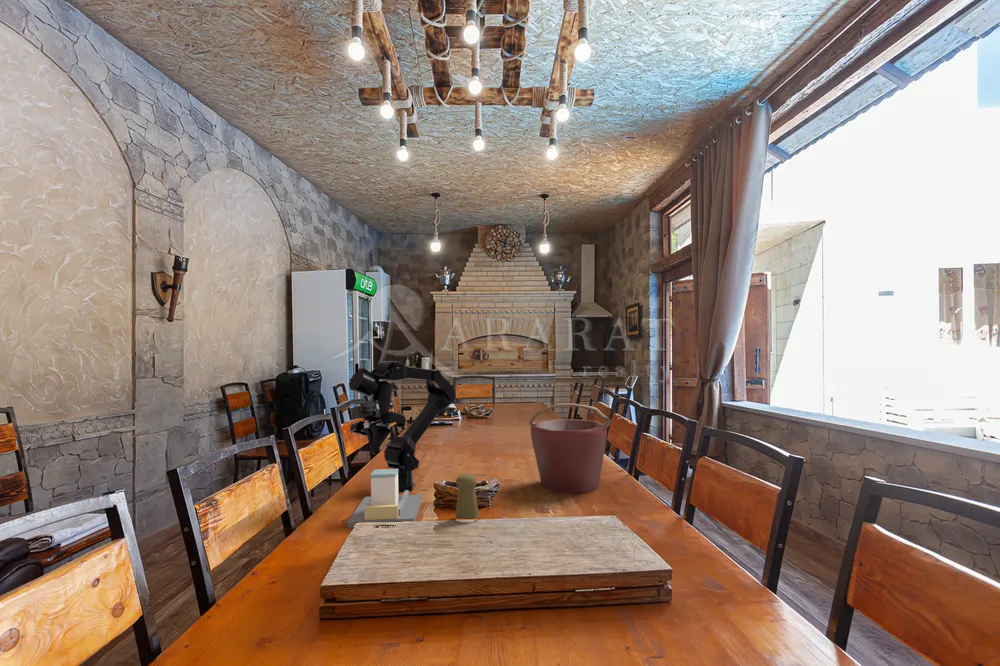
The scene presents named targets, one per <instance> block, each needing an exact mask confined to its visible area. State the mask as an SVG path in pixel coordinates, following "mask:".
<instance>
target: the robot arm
mask: <svg viewBox="0 0 1000 666" xmlns="http://www.w3.org/2000/svg"><path fill="white" fill-rule="evenodd" d="M405 379H408V380H409V379H410V380H417V381H418V380H419V381H425V383H426V390H427V392H428V395H427V403H426V404H425V406H424V407H423V408H422V410H421V411H420V412H419V414H418V415H417V416H416V417H415V419H414V420H413V422H412V423H411V424H410V425H409V427H408V428H407V429H406V431H405V432H404V433H403V434H402V436H395V435H394V436H393V437H392V438H391V439H390V441H389V442H388V443H387V444H386V445H385V447H386V448H385V450H384V452H383V454H384V456H383V457H384V460H385V462H386V463H387V467H388V469H398V492H399V491H400V492H401V491H402V492H403V491H404V492H405V490H409V491H413V490H414V488H415V487H416V482H413V481H414V480H413V479H414V476H413V473H414V471H415V470H416V469H418V468H419V464H420V461H419V460H418V459H417V457H415V453H416V447H417V446H416V445H417V443H418V442H419V441H420V439H421V437H422V436H423V435H424V433H425V432H426V431H427V429H428V428H429V427H430V425H431V424H432V423H433V421H434V420H435V419H436V417H437V416H438V415H439V413H440V412H441V411H443V410H445V409H447V408H448V407H450V405H451V404H453V402H454V401H455V399H456V392H455V391H456V390H455V388H454V387H453V386H452V384H451V383H450V382H449V381H448V380H447V379H446V377H444V376H443V374H442V372H441V371H440V370H438V369H431V368H430V369H428V368H420V367H415V366H414V367H413V366H408V365H406V364H404V363H403V362H400V361H396V360H395V361H394V360H381V361H380V362H379V363H378V364H377V366H376V367H375V368H373V369H372V370H371V371H369V370H367V369H366V368H365V367H360V368H358V370H357V371H356V372H354V374H352V377H351V378H350V379H349V381H348V382H349V383H348V387H349V389H350V390H351V391H352V392H353V391H354V392H356V393H358V394H361V395H363V396H366V397H370V396H371V397H370V398H371V399H370V400H366V401H364V402H363V404H361V405H356V406H354V407H352V408H350V416H351V420H356V419H362V420H359V421H355V422H352V423H350V428H349V432H350V433H354V434H358V435H360V436H364V437H365V436H366V437H367V439H368V440H367V441H368V445H369V451H370V454H371V455H376V454H377V452H378V451H379V449H380V447H381V446H382V444H383V443H384V442H385V440H386V439H387V437H388V435H389V434H390V433H392V431H393V429H391V425H392V424H394V423H396V424H395V425H396V426H397V427H398V428H401V427H405V426H406V422H407V419H406V416H405V415H404V414H401V413H398V412H396V411H393V409H394V404H391V403H392V396H393V395H392V394H393V392H396V391H398V390H399V387H398V386H397V385H396V384H395V382H394V381H399V380H405ZM388 381H393V382H388Z"/></svg>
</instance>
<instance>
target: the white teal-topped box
mask: <svg viewBox="0 0 1000 666" xmlns="http://www.w3.org/2000/svg"><path fill="white" fill-rule="evenodd" d="M369 476H370V496H371V506H379V505H398V504H399V498H398V495H399V491H398V469H394V468H386V469H385V468H382V469H374V470H373V471H372V472H371V473H370V475H369Z"/></svg>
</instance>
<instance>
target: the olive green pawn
mask: <svg viewBox="0 0 1000 666" xmlns="http://www.w3.org/2000/svg"><path fill="white" fill-rule="evenodd" d="M477 481H478V479H477V477H476V476H475V475H474V474H473V473H472V474H471V473H463V474H460V475H458V476H457V477H456V480H455V485H456V487H457V488H458V489H457V499H456V508H455V516H454V518H455V517H456V518H457V519H475V518H477V517H478V516H479V517H480V515H479V507H478V502H477V495H476V488H475V487H476V486H477Z"/></svg>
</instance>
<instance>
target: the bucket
mask: <svg viewBox="0 0 1000 666" xmlns="http://www.w3.org/2000/svg"><path fill="white" fill-rule="evenodd" d="M558 407H560V408H561V407H574V408H580V409H585V410H588V411H593V412H594V413H595V414H596V416H598V417H599V418H600V419H603V420H604V423H601V422H600V421H598V420H589V419H588V420H587V419H575V418H561V419H550V420H541V421H540V420H539V421H538V422H534V421H535V420H536V419H537V417H538V416H539V415H541V414H543V413H545V412H547V411H549V410H553V409H555V408H558ZM528 421H529V422H528V423H529V425H530V438H531V443H532V446H533V450H534V456H535V460H536V465H537V469H538V470H537V471H538V473H539V474H538V475H539V478H540V483H541V488H543V489H545V490H548V491H550V492H553V493H555V494H585V493H589V492H591V491H593V490H595V489H598V488H599V485H600V479H601V474H602V467H603V462H604V457H605V450H606V449H605V448H606V442H607V437H608V433H607V432H608V430H607V429H608V427H609V426H610V425H611V423H612V420H611V419H610V417H608V416H607V415H605V414H604V413H603V412H602V411H600V409H599V408H597V407H595V406H590V405H585V404H580V403H556V404H553V405H550V406H547V407H546V408H544V409H542V410H540V411H538V412H536V413H535V414H534V415H533V416H532V417H531V419H530V420H528Z"/></svg>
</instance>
